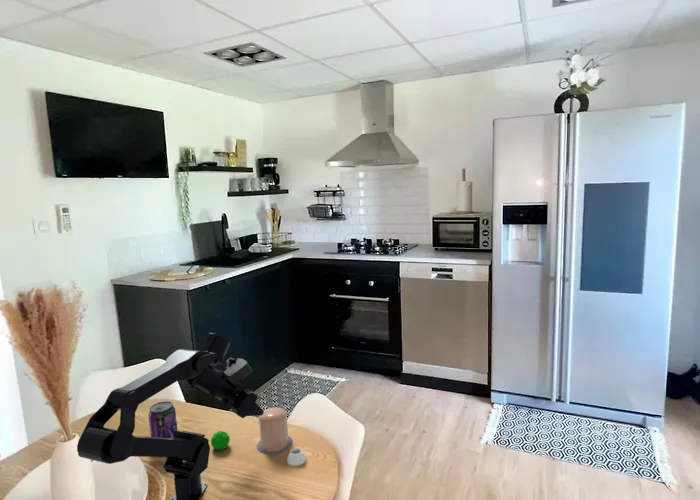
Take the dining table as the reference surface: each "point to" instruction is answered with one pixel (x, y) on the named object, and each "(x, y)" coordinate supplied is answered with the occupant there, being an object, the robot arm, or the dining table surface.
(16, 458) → the dining table surface
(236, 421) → the dining table surface
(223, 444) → the polyhedron
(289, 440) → the rubber mat
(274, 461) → the dining table surface
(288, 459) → the white tapered ring
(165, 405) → the beverage can
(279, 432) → the cover cup
